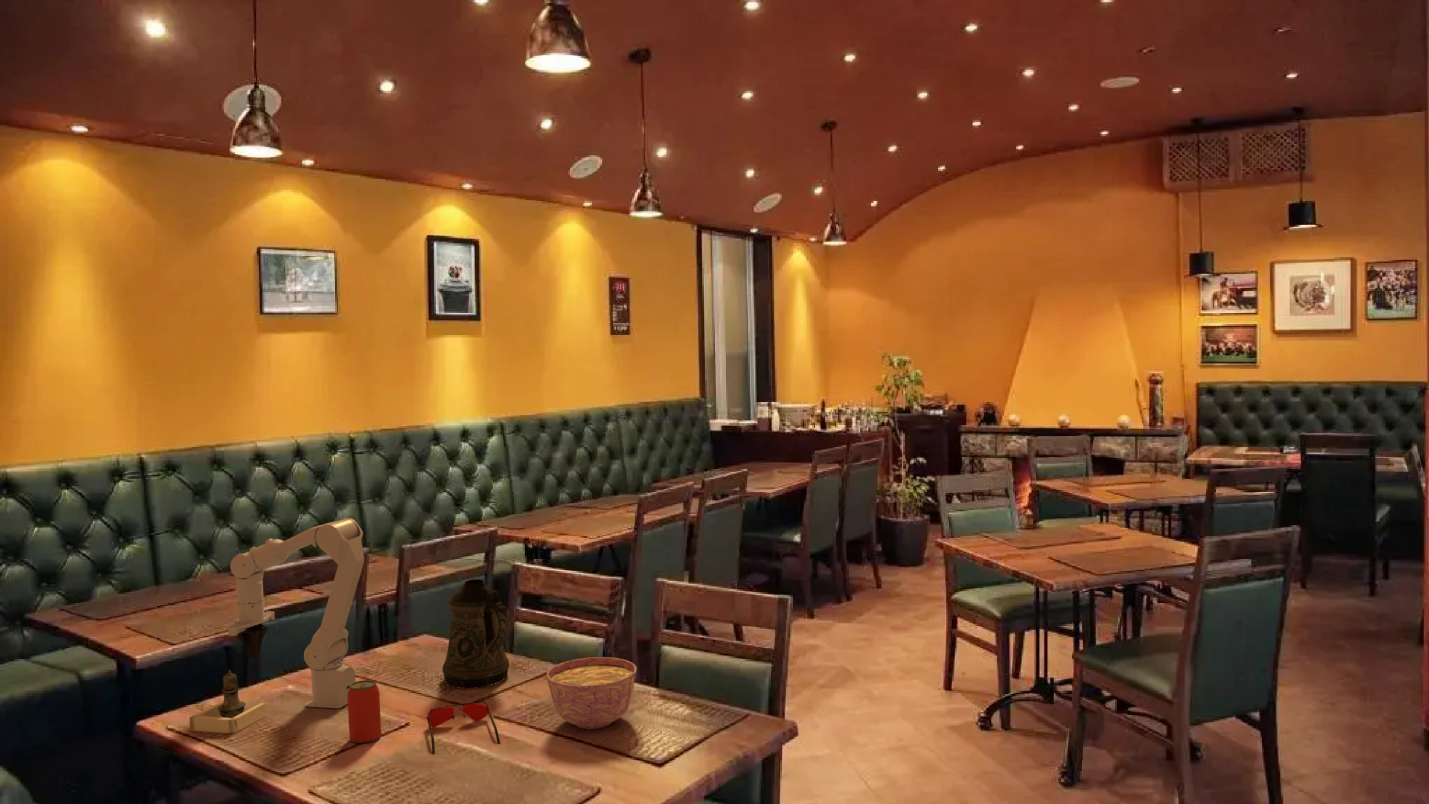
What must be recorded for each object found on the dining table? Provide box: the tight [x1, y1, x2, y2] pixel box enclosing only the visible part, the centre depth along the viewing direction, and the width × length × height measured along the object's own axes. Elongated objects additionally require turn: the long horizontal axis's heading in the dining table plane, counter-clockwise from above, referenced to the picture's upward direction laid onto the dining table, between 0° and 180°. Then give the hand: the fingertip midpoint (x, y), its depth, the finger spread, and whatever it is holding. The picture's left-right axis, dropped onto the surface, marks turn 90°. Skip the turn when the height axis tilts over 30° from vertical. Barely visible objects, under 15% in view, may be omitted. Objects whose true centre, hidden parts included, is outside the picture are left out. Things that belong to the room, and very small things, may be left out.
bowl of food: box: [545, 656, 638, 730], centre depth 226 cm, size 20×20×12 cm
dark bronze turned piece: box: [218, 669, 247, 718], centre depth 233 cm, size 6×6×12 cm
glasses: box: [426, 700, 501, 755], centre depth 221 cm, size 14×16×5 cm
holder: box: [188, 700, 267, 735], centre depth 232 cm, size 11×11×3 cm
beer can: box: [347, 679, 382, 744], centre depth 220 cm, size 7×7×12 cm
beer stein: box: [441, 578, 511, 689], centre depth 258 cm, size 16×19×25 cm
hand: (253, 656), depth 248 cm, fingers closed
